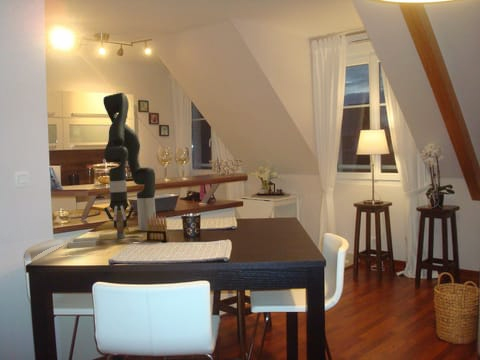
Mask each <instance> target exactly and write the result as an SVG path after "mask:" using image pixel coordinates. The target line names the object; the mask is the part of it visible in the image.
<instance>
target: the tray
mask: <svg viewBox="0 0 480 360" xmlns="http://www.w3.org/2000/svg"><path fill="white" fill-rule="evenodd" d="M98 238H99V236H93V237H79V238H78V237H77V238H71V239H70V240H69V241H68V242H67V249H73V248H74V249H75V248H89V247H97V246H96V241H98Z"/></svg>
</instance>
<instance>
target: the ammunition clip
mask: <svg viewBox="0 0 480 360" xmlns="http://www.w3.org/2000/svg"><path fill="white" fill-rule="evenodd" d="M146 240H147V241H150V240H151V241H161V243H168V242H169V230H168V225H167V217H166V215H164V216H162V215H161V216H159V215H157V217H155V216H154V224H153V217H152V216H151V224H150V218H149V216H148V218H147V231H146Z"/></svg>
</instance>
